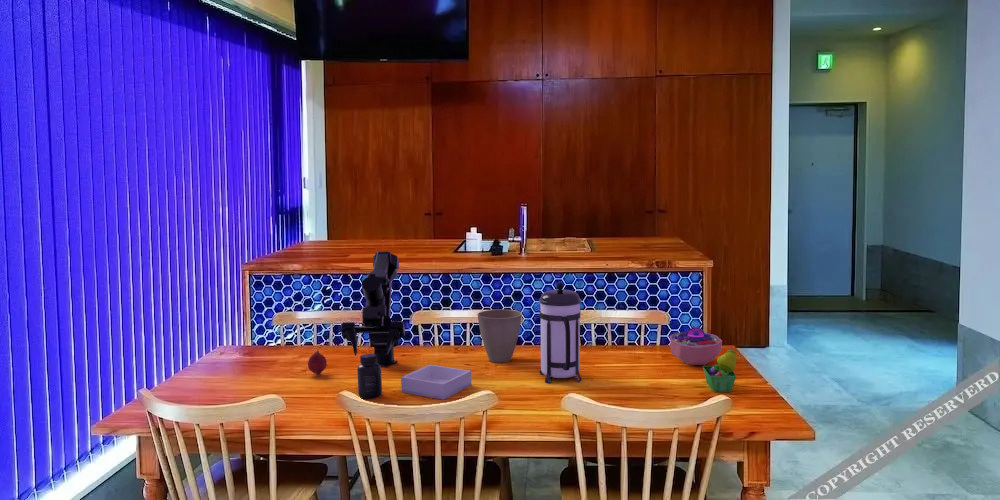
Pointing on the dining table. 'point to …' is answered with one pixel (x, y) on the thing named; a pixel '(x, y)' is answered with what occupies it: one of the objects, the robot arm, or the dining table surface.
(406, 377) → the purple bin
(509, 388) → the dining table surface
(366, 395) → the supplement bottle
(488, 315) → the plant pot
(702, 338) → the cell model
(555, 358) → the coffee press
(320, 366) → the onion
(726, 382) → the fruit basket
